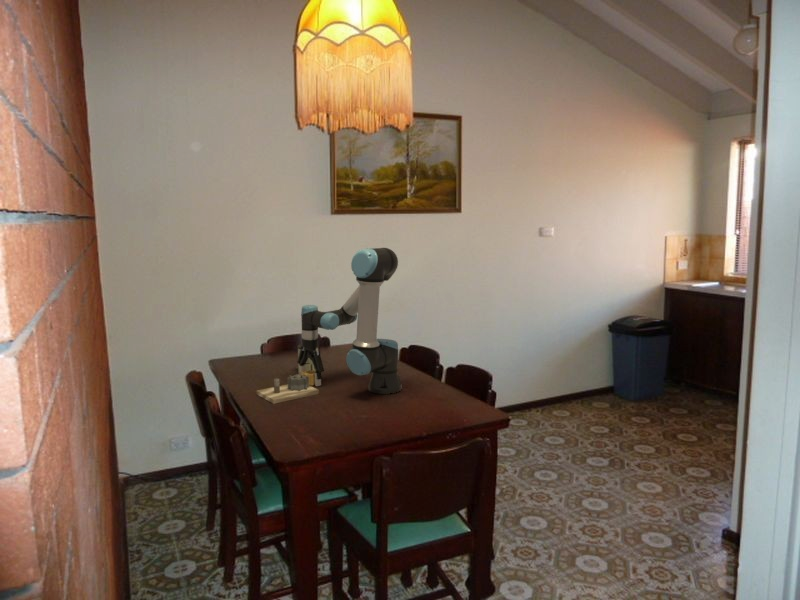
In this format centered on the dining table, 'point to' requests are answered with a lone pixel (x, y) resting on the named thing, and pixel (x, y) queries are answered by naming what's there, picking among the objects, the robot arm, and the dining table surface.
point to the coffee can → (308, 363)
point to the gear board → (288, 389)
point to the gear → (310, 376)
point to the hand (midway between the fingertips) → (310, 382)
